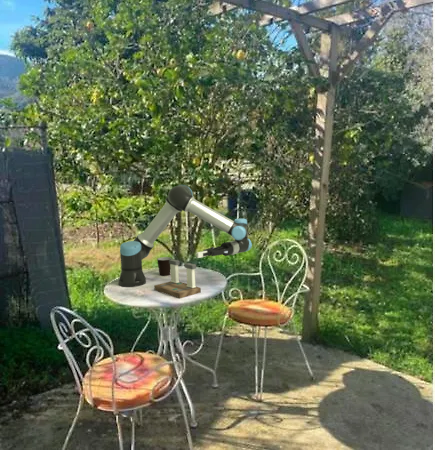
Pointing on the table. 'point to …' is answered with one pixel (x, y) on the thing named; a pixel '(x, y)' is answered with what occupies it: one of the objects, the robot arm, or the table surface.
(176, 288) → the wooden base board
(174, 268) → the lever
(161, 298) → the table surface
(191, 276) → the lever
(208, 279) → the table surface
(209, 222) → the robot arm
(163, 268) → the coffee mug
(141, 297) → the table surface
